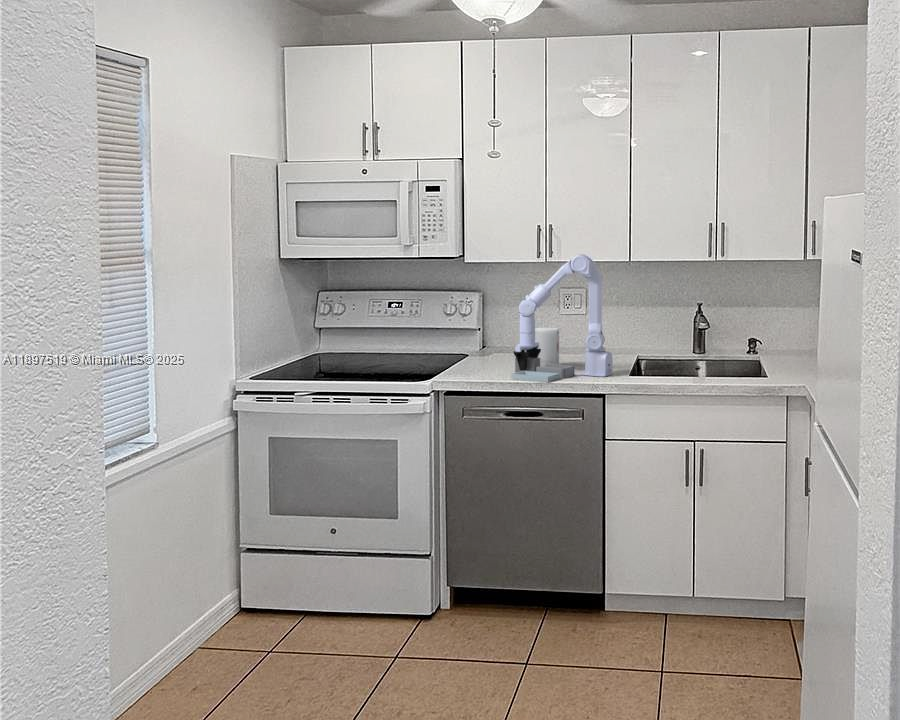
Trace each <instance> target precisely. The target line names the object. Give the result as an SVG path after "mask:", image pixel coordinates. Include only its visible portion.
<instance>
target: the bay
mask: <svg viewBox="0 0 900 720" xmlns="http://www.w3.org/2000/svg"><path fill="white" fill-rule="evenodd" d="M536 372H547V373H560V379H563V378H564V379H567V378H570V376H571V377H573V375H574V376H575V365H569V364H568V365H566V364H559V365H556V364H546V367H539V366H537V367H536ZM566 377H567V378H566Z"/></svg>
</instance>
